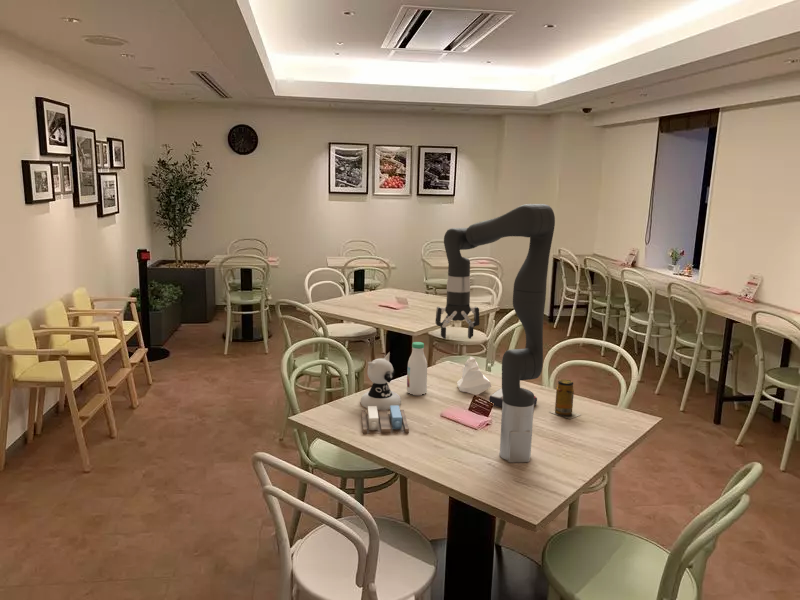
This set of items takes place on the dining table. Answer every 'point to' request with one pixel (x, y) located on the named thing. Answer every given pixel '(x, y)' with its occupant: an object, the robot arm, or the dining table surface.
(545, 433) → the dining table surface
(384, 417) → the cord comb
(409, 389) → the milk bottle
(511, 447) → the robot arm
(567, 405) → the condiment
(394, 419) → the light blue bar
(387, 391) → the decorative figurine
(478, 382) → the soft serve ice cream
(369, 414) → the white rectangular block
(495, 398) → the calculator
